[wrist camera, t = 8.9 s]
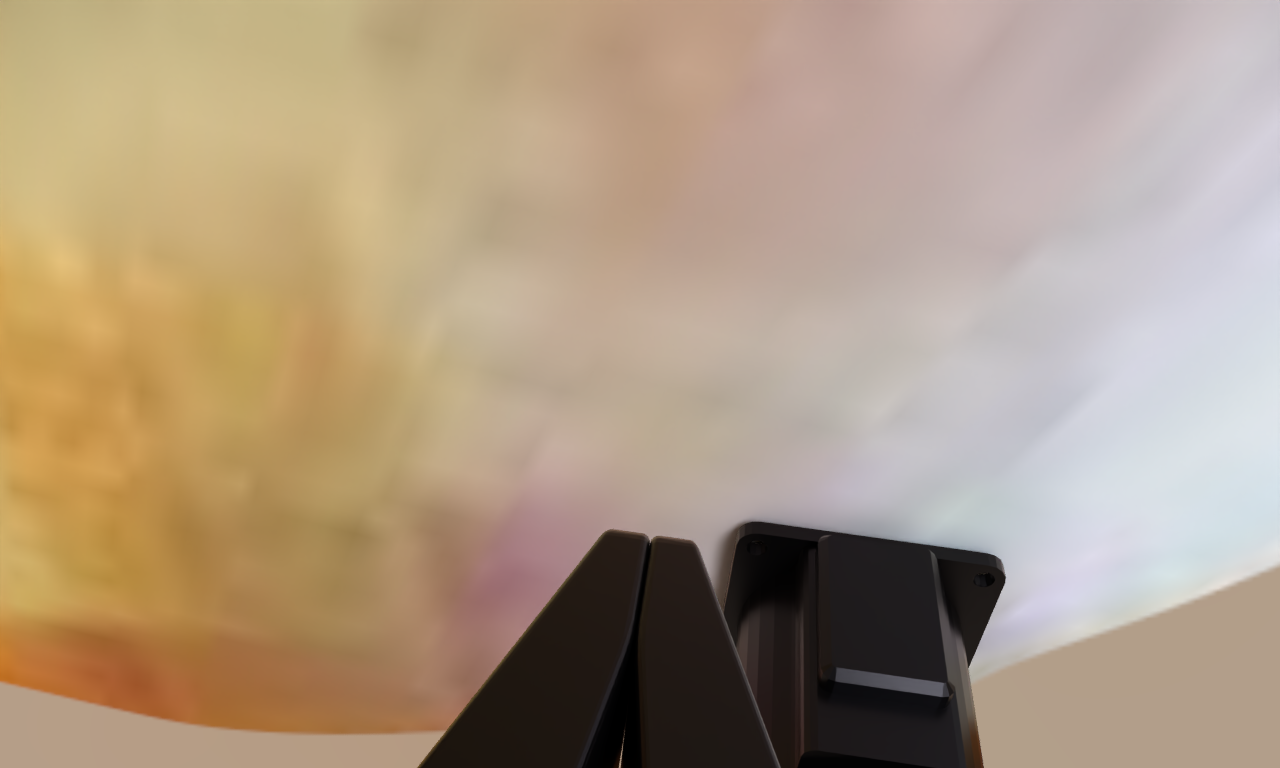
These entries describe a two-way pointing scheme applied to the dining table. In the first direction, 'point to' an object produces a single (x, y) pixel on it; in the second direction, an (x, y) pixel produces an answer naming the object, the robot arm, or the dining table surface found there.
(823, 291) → the dining table surface
